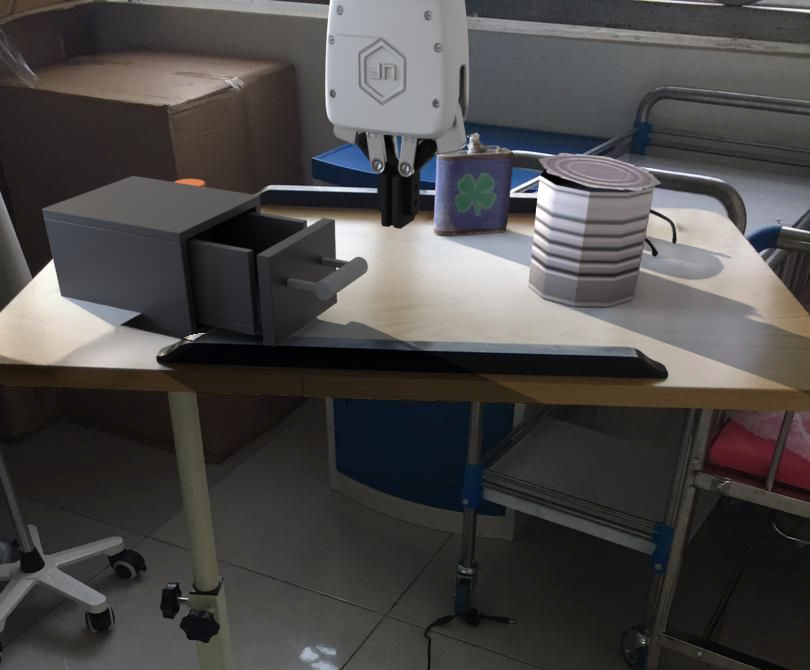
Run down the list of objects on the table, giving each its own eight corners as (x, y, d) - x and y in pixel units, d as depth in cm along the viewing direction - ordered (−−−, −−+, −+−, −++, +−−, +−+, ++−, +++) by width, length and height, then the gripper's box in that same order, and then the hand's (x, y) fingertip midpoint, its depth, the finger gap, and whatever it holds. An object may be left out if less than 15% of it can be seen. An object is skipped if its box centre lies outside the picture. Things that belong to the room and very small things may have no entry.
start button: (194, 204, 100) (192, 188, 99) (168, 200, 101) (166, 184, 100) (212, 196, 103) (211, 181, 102) (187, 192, 104) (185, 177, 103)
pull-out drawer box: (378, 310, 83) (379, 226, 79) (320, 357, 75) (317, 266, 70) (218, 279, 89) (209, 199, 84) (147, 319, 81) (133, 232, 76)
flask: (436, 237, 104) (440, 139, 98) (429, 229, 106) (433, 133, 100) (510, 232, 106) (519, 136, 100) (501, 225, 108) (510, 130, 102)
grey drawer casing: (267, 295, 88) (260, 195, 83) (193, 341, 79) (179, 233, 73) (147, 271, 93) (132, 175, 87) (64, 312, 84) (41, 208, 78)
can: (558, 260, 98) (573, 145, 91) (655, 284, 93) (678, 163, 86) (506, 290, 91) (518, 166, 84) (608, 317, 85) (630, 188, 78)
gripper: (277, -49, 61) (295, 223, 71) (482, -42, 56) (468, 250, 67) (328, -55, 66) (338, 199, 77) (520, -48, 61) (501, 222, 72)
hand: (398, 222), depth 72 cm, fingers closed
